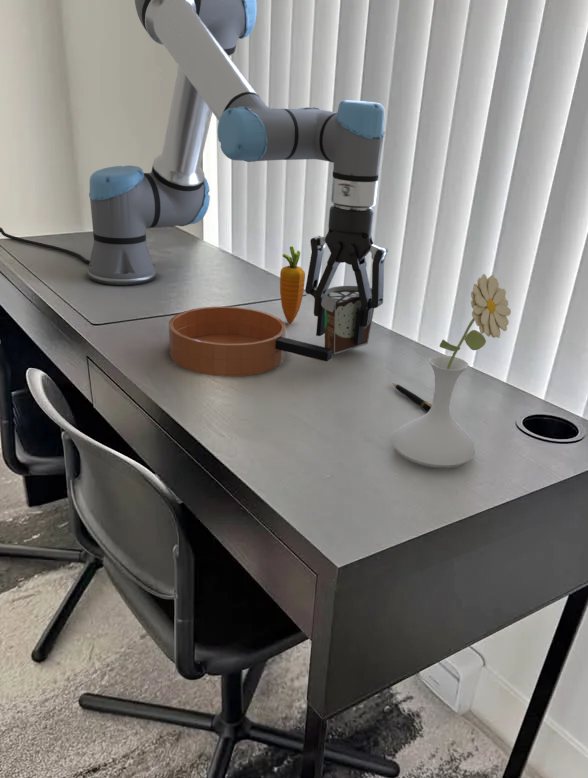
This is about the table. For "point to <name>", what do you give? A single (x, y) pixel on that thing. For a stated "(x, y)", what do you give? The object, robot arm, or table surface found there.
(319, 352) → the pan handle
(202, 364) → the pan
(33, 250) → the table surface
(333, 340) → the food container
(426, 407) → the fountain pen
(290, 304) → the carrot
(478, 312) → the flower in vase
